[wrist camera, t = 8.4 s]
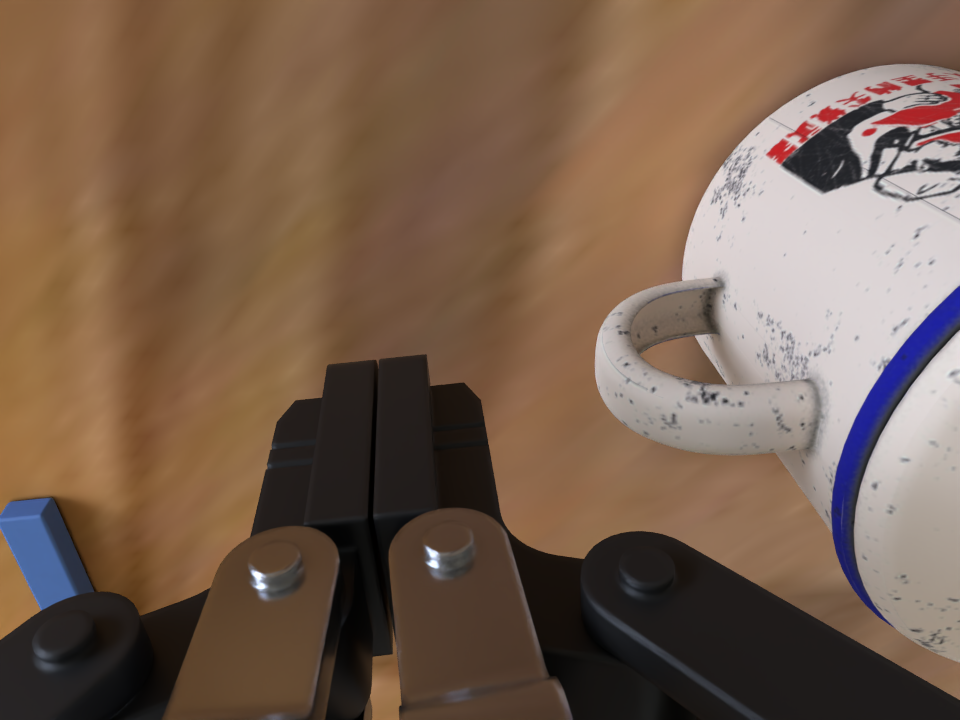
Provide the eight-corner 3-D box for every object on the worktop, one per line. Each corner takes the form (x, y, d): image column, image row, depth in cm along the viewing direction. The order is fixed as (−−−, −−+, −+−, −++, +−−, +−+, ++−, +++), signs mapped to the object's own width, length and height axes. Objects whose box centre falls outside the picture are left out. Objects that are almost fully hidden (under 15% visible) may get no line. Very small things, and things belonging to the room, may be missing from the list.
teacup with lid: (1088, 38, 17) (2095, 212, 7) (970, 385, 21) (1471, 795, 11) (552, 66, 16) (804, 308, 6) (548, 420, 21) (689, 890, 11)
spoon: (-54, 506, 20) (-74, 532, 19) (115, 489, 21) (102, 514, 20) (105, 803, 27) (96, 832, 26) (229, 788, 28) (224, 816, 27)
